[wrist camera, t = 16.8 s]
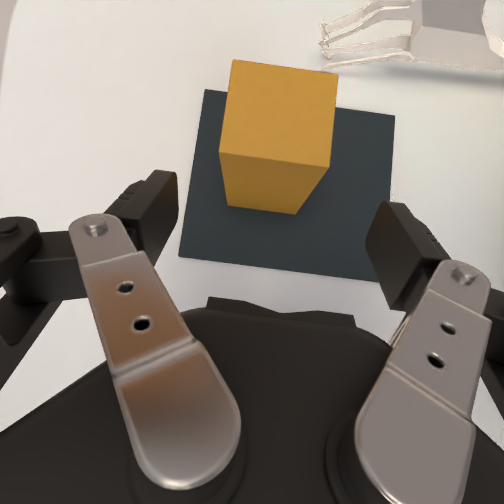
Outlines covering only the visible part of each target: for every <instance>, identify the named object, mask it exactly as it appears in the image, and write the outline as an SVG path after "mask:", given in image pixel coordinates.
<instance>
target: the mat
mask: <svg viewBox="0 0 504 504" xmlns="http://www.w3.org/2000/svg"><path fill="white" fill-rule="evenodd" d="M227 94H228V92H222V91H215V90H208V89H205V92H204V98H203V104H202V111H201V117H200V123H199V129H198V136H197V142H196V148H195V154H194V160H193V167H192V173H191V179H190V185H189V192H188V198H187V204H186V210H185V216H184V223H183V229H182V235H181V241H180V248H179V254H178V256H179V257H187V258H194V259H202V260H210V261H218V262H225V263H233V264H241V265H249V266H257V267H264V268H272V269H280V270H288V271H295V272H303V273H311V274H319V275H327V276H334V277H342V278H350V279H358V280H365V281H373V282H379V281H378V278H377V276H376V274H375V271H374V269H373V266H372V264H371V261H370V259H369V256H368V254H367V251H366V248H365V240H366V236H367V233H368V231H369V228H370V226H371V224H372V221H373V219H374V217H375V214H376V212H377V210H378V207H379V205H380V204H381V203H382V202H383V201H389V202H390V187H391V172H392V156H393V141H394V126H395V116H394V115H387V114H380V113H373V112H366V111H358V110H351V109H344V108H337V107H335V115H334V126H333V136H332V146H331V156H330V167H329V168H328V170H327V171H326V173H325V174H324V175H323V177H322V178H321V180H320V181H319V182H318V184H317V185H316V187H315V188H314V189H313V191H312V192H311V193H310V195H309V196H308V198H307V199H306V200H305V202H304V203H303V205H302V206H301V207H300V209H299V210H298V212H297V213H296V214H295V215H294V214H286V213H279V212H271V211H264V210H257V209H249V208H242V207H234V206H228V205H227V199H226V193H225V186H224V180H223V174H222V168H221V162H220V156H219V146H220V140H221V133H222V127H223V120H224V113H225V107H226V100H227Z"/></svg>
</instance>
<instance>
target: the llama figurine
mask: <svg viewBox="0 0 504 504" xmlns="http://www.w3.org/2000/svg"><path fill="white" fill-rule="evenodd" d="M484 4H485V0H373V1H372V2H371V3H370V4H369V5H367V6H366V7H364V8H361V9H360V10H358V11H356V12H354V13H352V14H350V15H347V16H345V17H343V18H340V19H338V20H336V21H334V22H331V23H329V24H327V25H323V24H319V27H320V31H321V34H322V41H319V40H318V43H319V44H320V45H321V46H322V48H323V45H327V46H328V47H329V43H331V42H334V41H336V40H339V39H341V38H344V37H346V36H349V35H351V34H354V33H356V32H358V31H360V30H361V29H362V30H363V29H365V28H367V27H369V26H370V25H372V24H375V23H377V22H380V21H383V20H413V22H412V29H411V35H399V36H395V37H390V38H386V39H382V40H377V41H372V42H366V43H360V44H354V45H348V46H342V47H336V48H330V49H325V50H323V53H324V54H325V55H326V56H327V57H328V58H329V60H330V59H331V57H332V56H333V54H341V53H349V52H357V51H366V50H374V49H389V48H401V49H404V50H405V51H400V52H395V53H390V54H385V55H380V56H376V57H369V58H363V59H356V60H350V61H343V62H337V63H330V64H326V65H323V66H322V69H323V70H325V71H327V72H330V71H331V70H332V68H335V67H342V66H349V65H356V64H363V63H370V62H378V61H388V60H398V59H401V60H405V61H408V62H412V63H415V62H429V63H435V64H441V65H446V66H452V67H458V68H463V69H475V70H498V69H504V41H502V40H500V39H499V38H498V37H496V36H495V35H493V34H492V33H490V31H489V27H488V24H487V20H486V17H485V13H484ZM383 6H402V7H389V8H381V7H383ZM379 8H380V9H379ZM376 9H379V10H378V11H376V12H375V13H374V14H373V15H372V16H370V17H369V18H368V19H366V20H365V21H363V22H362V23H361V24H360V25H358V26H356V27H355V28H353V29H350V30H348V31H345V32H343V33H340V34H338V35H335V36H333V37H330V38H329V36H328V33H330V32H333V31H335V30H338V29H340V28H342V27H345V26H347V25H350V24H352V23H354V22H357V21H358V20H360V19H361V18H363V17H364V16H365V15H366V14H368V13H370V12H372V11H374V10H376ZM323 21H324V19H323ZM324 24H325V21H324ZM326 35H327V36H328V39H324V38H325V36H326Z"/></svg>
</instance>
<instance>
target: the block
mask: <svg viewBox="0 0 504 504" xmlns="http://www.w3.org/2000/svg"><path fill="white" fill-rule="evenodd" d="M337 85H338V74H332V73H325V72H318V71H311V70H304V69H297V68H290V67H283V66H276V65H269V64H262V63H256V62H249V61H242V60H235V59H234V60H233V61H232V67H231V74H230V80H229V87H228V94H227V100H226V107H225V113H224V120H223V127H222V133H221V140H220V146H219V156H220V162H221V168H222V174H223V180H224V186H225V193H226V199H227V205H228V206H234V207H242V208H249V209H257V210H264V211H271V212H279V213H286V214H294V215H295V214H296V213H297V212H298V210H299V209H300V207H301V206H302V205H303V203H304V202H305V200H306V199H307V198H308V196H309V195H310V193H311V192H312V191H313V189H314V188H315V187H316V185H317V184H318V182H319V181H320V180H321V178H322V177H323V175H324V174H325V173H326V171H327V170H328V168H329V167H330V156H331V146H332V136H333V126H334V115H335V105H336V95H337Z"/></svg>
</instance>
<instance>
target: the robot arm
mask: <svg viewBox="0 0 504 504" xmlns="http://www.w3.org/2000/svg"><path fill="white" fill-rule="evenodd" d="M178 212H179V206H178V185H177V175H176V173H175V172H170V171H163V170H154V171H153V173H152V174H151V175H150V176H149V177H148V178H147V179H146V181H143V180H140V181H138V182H136V183H134V184H131V185H130V186H129V187H128V188H127V189H126V190H125V191H124V193H122V194H121V195H120V196H119V197H118V199H116V200H115V201H114V202H113V204H112V205H111V206H110V207H109V208H108V209H107V210H106V211H105V212H104V213H103V214H91V215H87V216H83V217H81V218H79V219H77V220H75V221H74V222H72V223H71V224H70V226H69V231H57V232H40V231H39V228H38V226H37V223H36V222H35V221H34V220H33V219H30V218H27V217H6V218H1V219H0V288H1V287H2V286H3V288H4V289H5V291H6V294H5V295H4V296H3V297H2V298H1V299H0V390H1V389H2V387H3V386H4V384H5V383H6V381H7V380H8V379H9V377H10V376H11V374H12V373H13V371H14V370H15V369H16V367H17V366H18V364H19V363H20V361H21V360H22V359H23V357H24V356H25V354H26V353H27V351H28V350H29V348H30V347H31V346H32V344H33V343H34V341H35V340H36V338H37V337H38V336H39V334H40V333H41V331H42V330H43V328H44V327H45V326H46V324H47V323H48V321H49V320H50V318H51V317H52V316H53V314H54V313H55V311H56V310H57V308H58V307H59V306H60V304H61V303H62V301H63V300H71V299H80V298H88V299H89V302H90V306H91V309H92V312H93V316H94V319H95V323H96V326H97V329H98V333H99V336H100V339H101V343H102V346H103V349H104V353H105V356H106V359H107V360H106V361H104V362H103V363H101V364H100V365H98V366H97V367H96V368H94V369H93V370H91V371H90V372H88V373H87V374H85V375H84V376H82V377H81V378H79V379H78V380H77V381H75V382H74V383H72V384H71V385H69V386H68V387H66V388H65V389H63V390H62V391H60V392H59V393H57V394H56V395H55V396H53V397H52V398H50V399H49V400H47V401H46V402H44V403H43V404H41V405H40V406H38V407H37V408H35V409H34V410H33V411H31V412H30V413H28V414H27V415H25V416H24V417H22V418H21V419H19V420H18V421H16V422H15V423H13V424H12V425H11V426H9V427H8V428H6V429H5V430H3V431H2V432H0V504H504V451H503V450H502V449H501V448H500V447H499V446H498V445H497V444H496V443H495V442H494V441H493V440H492V439H491V438H489V437H488V436H487V435H486V434H485V433H484V432H483V431H482V430H481V429H480V428H479V427H478V426H477V425H475V424H474V423H473V421H472V419H471V413H472V409H473V404H474V400H475V396H476V391H477V387H478V382H479V378H480V376H481V378H482V380H483V382H484V384H485V385H486V387H487V389H488V391H489V393H490V395H491V397H492V399H493V401H494V402H495V404H496V406H497V408H498V410H499V412H500V414H501V416H502V418H503V419H504V292H502V291H499V290H496V289H492V288H491V283H490V281H489V279H488V278H487V277H486V276H485V275H484V274H483V273H482V272H481V271H479V270H478V269H476V268H474V267H473V266H471V265H469V264H466V263H463V262H460V261H456V260H452V259H451V258H450V257H449V255H448V254H447V253H446V251H445V250H444V249H443V247H442V246H441V245H440V243H439V242H437V239H436V238H435V237H434V235H432V233H431V232H430V230H429V229H428V228H427V226H426V225H425V224H423V223H422V222H420V221H419V220H418V219H416V218H415V217H414V216H413V214H412V213H411V212H410V210H409V209H408V208H407V206H406V205H405V204H404V203H397V202H389V201H383V202H382V203H381V204H380V205H379V207H378V210H377V212H376V214H375V217H374V219H373V221H372V224H371V226H370V228H369V231H368V233H367V236H366V240H365V248H366V251H367V254H368V256H369V259H370V261H371V264H372V266H373V269H374V271H375V274H376V276H377V278H378V281H379V283H380V286H381V288H382V291H383V293H384V296H385V298H386V301H387V303H388V306H389V308H390V310H397V311H405V312H406V315H405V316H404V318H403V319H402V321H401V323H400V324H399V326H398V328H397V329H396V331H395V333H394V335H393V336H392V338H391V340H390V341H389V343H388V344H387V343H386V342H385V341H383V340H382V339H380V338H379V337H377V336H375V335H373V334H372V333H370V332H368V331H365V330H363V329H361V328H358V327H356V323H355V320H354V316H353V315H349V314H341V313H333V312H325V311H306V312H294V313H279V312H275V311H273V310H270V309H267V308H264V307H261V306H258V305H255V304H252V303H249V302H246V301H240V300H232V299H225V298H217V297H208V301H207V305H206V307H203V308H197V309H191V310H188V311H184V312H181V313H179V311H178V309H177V308H176V306H175V304H174V302H173V301H172V299H171V297H170V295H169V294H168V292H167V290H166V288H165V287H164V285H163V283H162V281H161V279H160V278H159V276H158V274H157V272H156V271H155V269H154V266H155V264H156V262H157V260H158V258H159V256H160V254H161V252H162V250H163V248H164V246H165V244H166V242H167V240H168V238H169V237H170V235H171V233H172V231H173V229H174V227H175V225H176V223H177V219H178Z"/></svg>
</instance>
